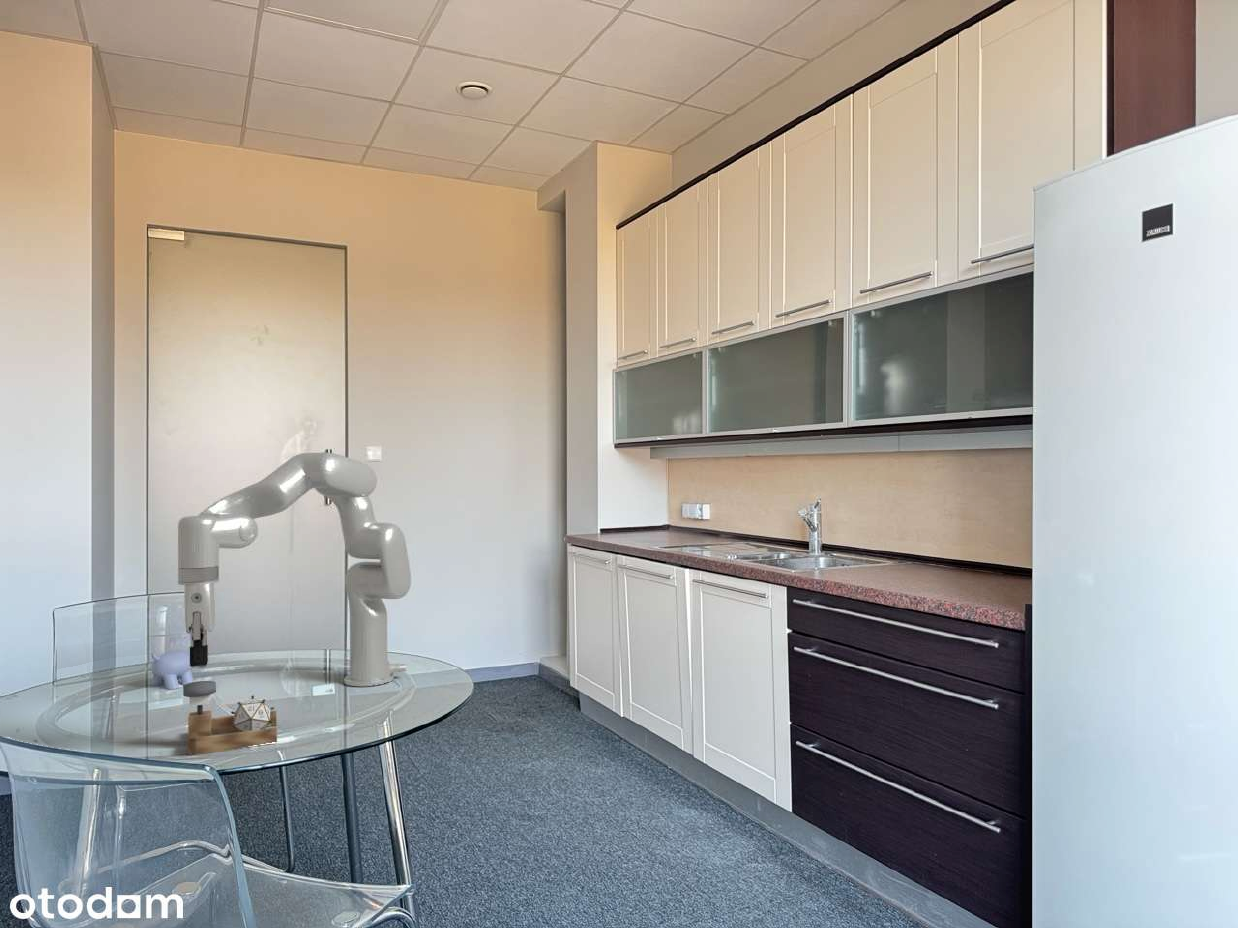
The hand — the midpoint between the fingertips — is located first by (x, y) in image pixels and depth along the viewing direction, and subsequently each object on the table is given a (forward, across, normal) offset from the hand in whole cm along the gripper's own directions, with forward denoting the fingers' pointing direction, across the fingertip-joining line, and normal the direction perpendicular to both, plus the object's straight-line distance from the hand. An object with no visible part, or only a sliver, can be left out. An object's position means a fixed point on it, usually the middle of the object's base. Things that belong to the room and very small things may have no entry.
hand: (198, 665), depth 169 cm
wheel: (+8, 0, 0) cm, 8 cm away
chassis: (+16, 0, -7) cm, 17 cm away
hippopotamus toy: (+16, +58, +9) cm, 61 cm away
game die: (+16, +1, -10) cm, 19 cm away
